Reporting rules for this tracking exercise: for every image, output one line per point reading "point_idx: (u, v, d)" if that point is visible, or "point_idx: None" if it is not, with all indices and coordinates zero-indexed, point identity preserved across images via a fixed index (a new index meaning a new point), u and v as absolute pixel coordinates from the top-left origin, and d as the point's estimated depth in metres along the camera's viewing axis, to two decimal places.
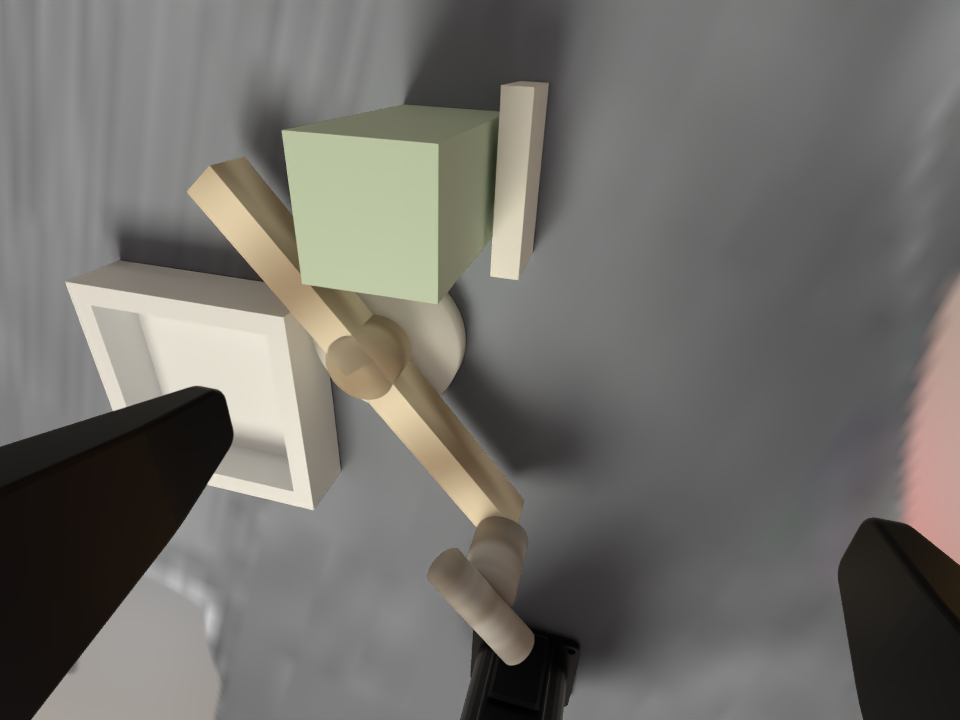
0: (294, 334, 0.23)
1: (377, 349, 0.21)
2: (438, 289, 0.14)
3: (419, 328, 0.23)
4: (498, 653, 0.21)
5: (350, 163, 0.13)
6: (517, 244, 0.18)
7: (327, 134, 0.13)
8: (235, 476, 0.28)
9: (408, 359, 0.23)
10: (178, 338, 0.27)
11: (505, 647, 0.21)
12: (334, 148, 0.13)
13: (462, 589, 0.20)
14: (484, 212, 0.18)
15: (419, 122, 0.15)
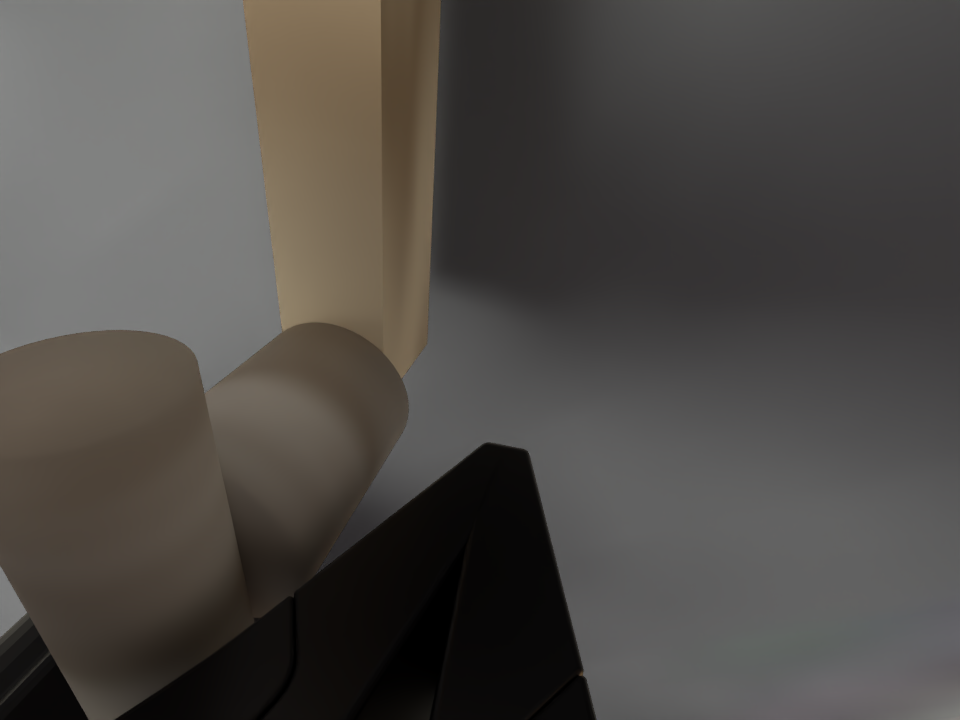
0: None
1: None
2: None
3: None
4: None
5: None
6: None
7: None
8: None
9: None
10: None
11: None
12: None
13: (96, 547, 0.04)
14: None
15: None
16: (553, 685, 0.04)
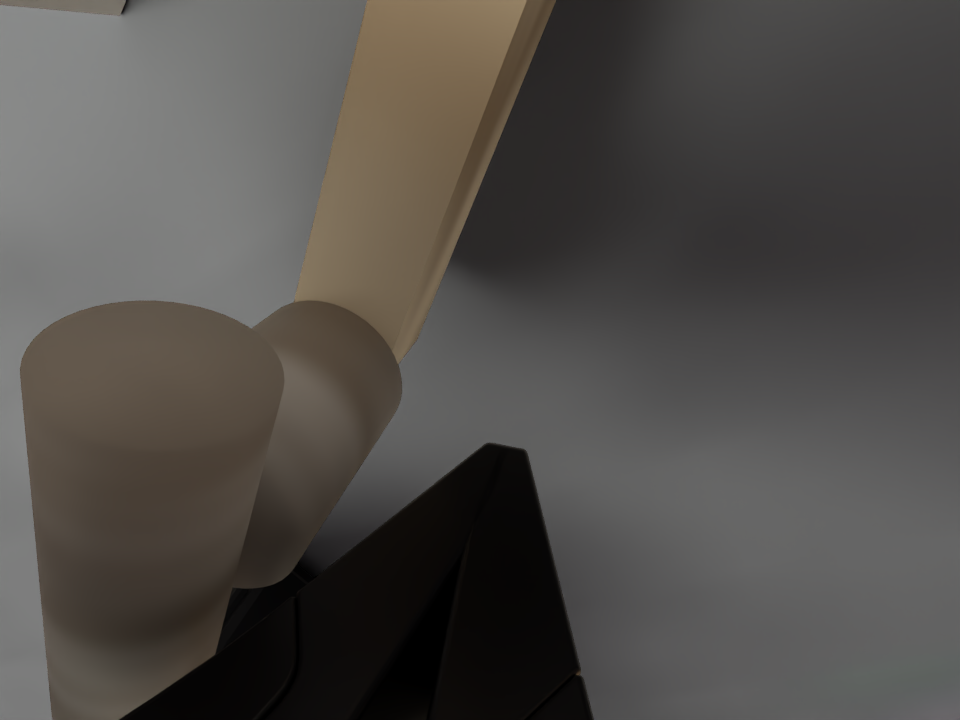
0: None
1: None
2: None
3: None
4: (59, 707, 0.05)
5: None
6: None
7: None
8: None
9: None
10: None
11: None
12: None
13: (162, 530, 0.04)
14: None
15: None
16: (550, 684, 0.04)
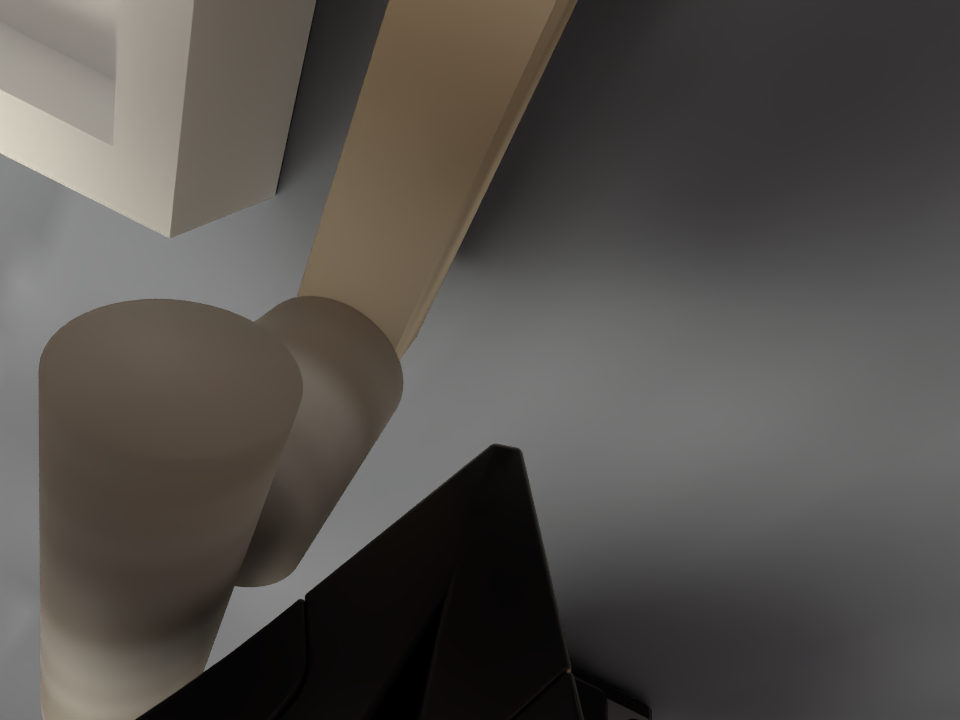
0: None
1: None
2: None
3: None
4: (51, 705, 0.05)
5: None
6: None
7: None
8: None
9: None
10: None
11: (100, 719, 0.05)
12: None
13: (176, 537, 0.04)
14: None
15: None
16: (540, 682, 0.04)
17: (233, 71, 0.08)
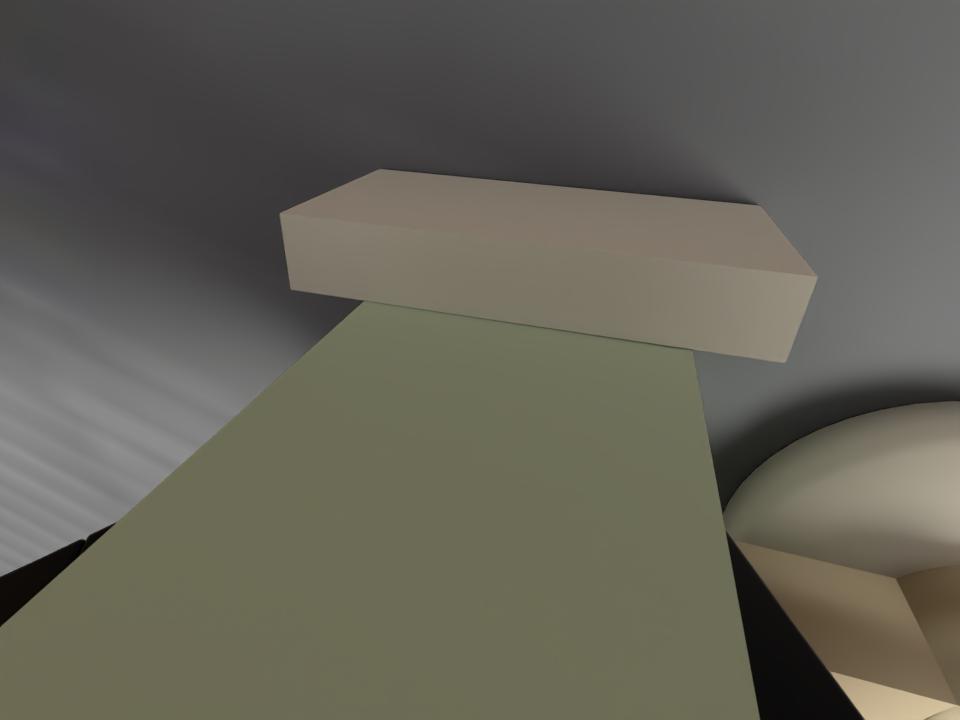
0: None
1: None
2: None
3: (928, 528, 0.08)
4: None
5: None
6: (683, 273, 0.06)
7: None
8: None
9: None
10: None
11: None
12: None
13: None
14: (581, 338, 0.06)
15: None
16: None
17: None
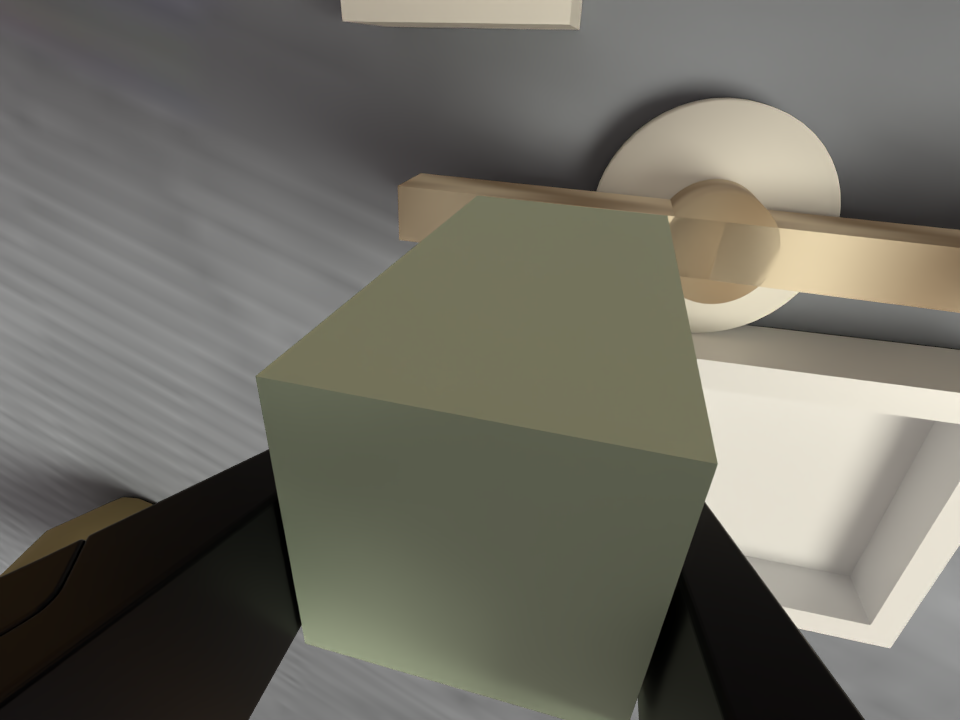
0: None
1: (721, 199, 0.14)
2: (663, 449, 0.04)
3: (683, 166, 0.16)
4: None
5: (337, 559, 0.06)
6: None
7: (296, 577, 0.06)
8: (936, 514, 0.17)
9: None
10: None
11: None
12: (315, 577, 0.06)
13: None
14: (596, 254, 0.08)
15: None
16: None
17: (932, 373, 0.16)
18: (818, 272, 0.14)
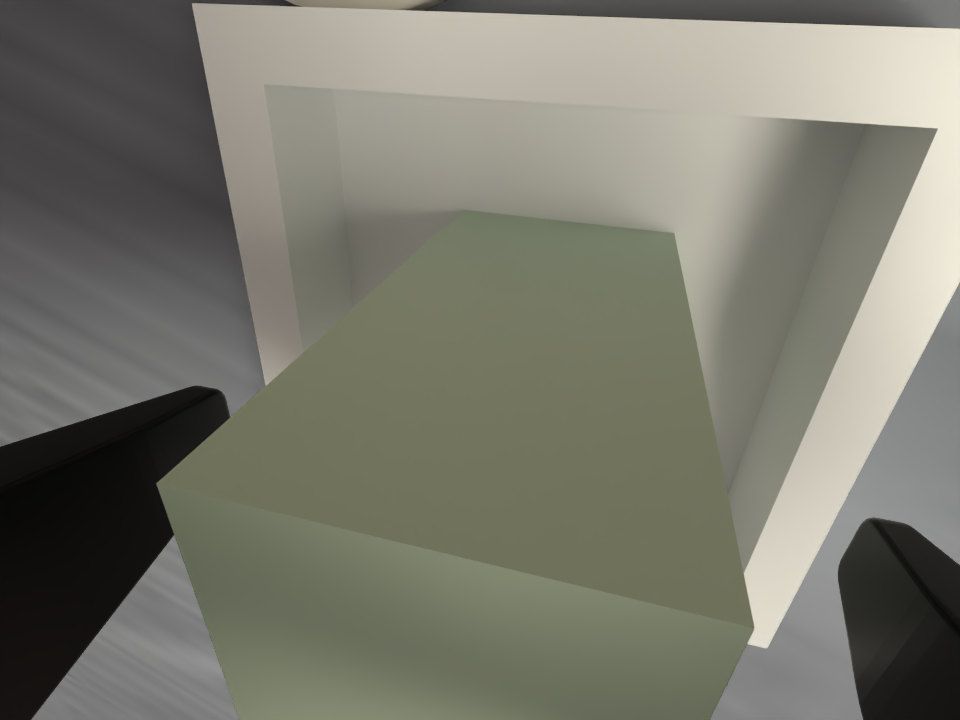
0: None
1: None
2: (680, 602, 0.03)
3: None
4: None
5: (278, 681, 0.05)
6: None
7: (235, 692, 0.05)
8: (828, 372, 0.08)
9: None
10: None
11: None
12: (256, 696, 0.05)
13: None
14: (594, 286, 0.07)
15: None
16: None
17: None
18: None
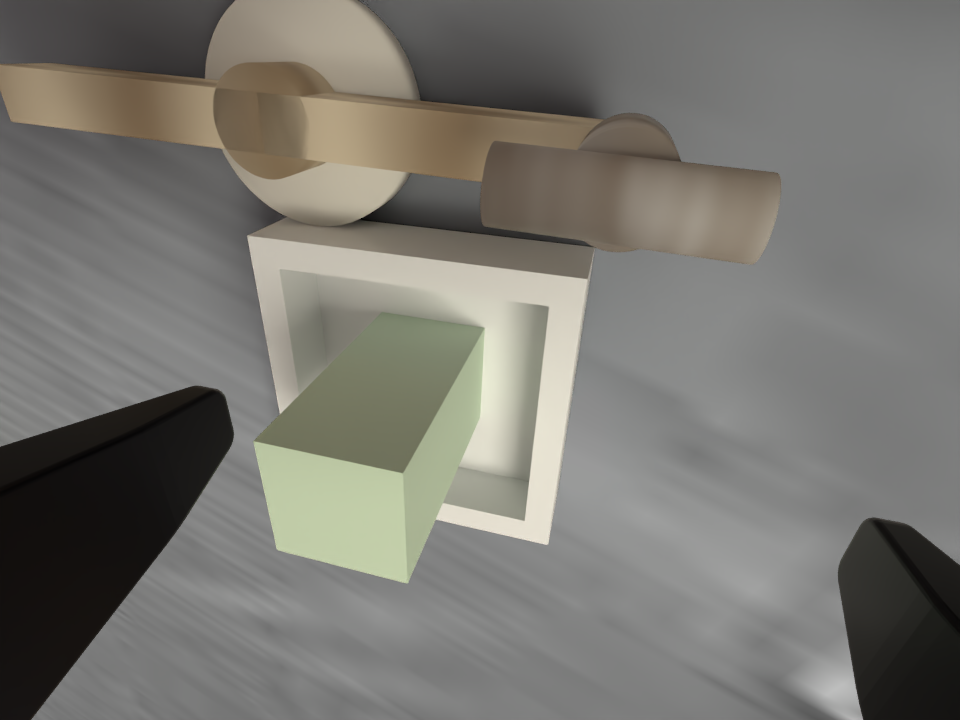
0: (286, 234, 0.18)
1: (245, 68, 0.14)
2: (388, 468, 0.13)
3: (266, 50, 0.16)
4: (719, 240, 0.09)
5: (287, 510, 0.14)
6: None
7: (272, 519, 0.15)
8: (539, 400, 0.18)
9: (323, 84, 0.16)
10: None
11: (714, 207, 0.09)
12: (279, 518, 0.15)
13: (531, 168, 0.10)
14: (423, 364, 0.17)
15: None
16: None
17: (509, 257, 0.17)
18: (346, 142, 0.15)
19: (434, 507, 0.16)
